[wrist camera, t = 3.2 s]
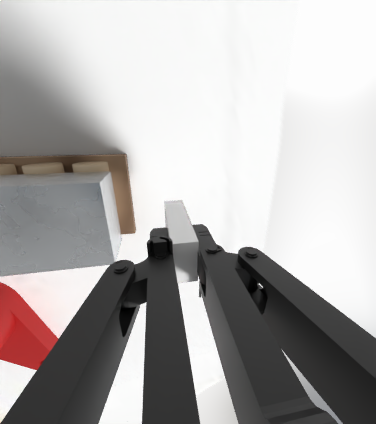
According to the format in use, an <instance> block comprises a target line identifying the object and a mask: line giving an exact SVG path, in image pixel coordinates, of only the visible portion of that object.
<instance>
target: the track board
mask: <svg viewBox="0 0 376 424" xmlns="http://www.w3.org/2000/svg"><path fill="white" fill-rule="evenodd" d="M88 161H105V162H108V167H109V171H111V176H112V182H113V188H114V194H115V200H116V206H117V213H118V219H119V225H120V231H121V234H131V233H135V231H136V227H135V219H134V211H133V203H132V195H131V187H130V179H129V171H128V164H127V156H126V154H110V155H65V156H20V157H0V164H14V165H15V168H16V171H17V173H18V175H19V174H24V173H23V170H22V166H24V165H28V164H35V163H49V162H59V163H62V164H63V168H64V172H65V173H74V172H73V167H72V164H75V163H79V162H88Z"/></svg>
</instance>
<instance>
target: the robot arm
mask: <svg viewBox="0 0 376 424" xmlns="http://www.w3.org/2000/svg"><path fill="white" fill-rule="evenodd" d="M164 202H165V221H166V228H155V229H153V230H152V231H151V232H150V240H148V242H147V249H148V258H147V259H146V260H145V261H143V262H141V263H138V264H135V265H134V263H133V262H131V261H128V260H120V261H117V262H114V263H113V264H111V265H110V266H109V267H108V268H107V269H106V271H105V272H104V274H103V275H102V277H101V278H100V280H99V281H98V283H97V284H96V285H95V287H94V288H93V290H92V291H91V293H90V294H89V296H88V297H87V299H86V300H85V301H84V303H83V304H82V306H81V307H80V309H79V310H78V312H77V313H76V315H75V316H74V317H73V319H72V320H71V322H70V323H69V325H68V326H67V328H66V329H65V331H64V332H63V333H62V335H61V336H60V338H59V339H58V341H57V342H56V344H55V345H54V346H53V348H52V349H51V351H50V352H49V354H48V355H47V357H46V358H45V360H44V361H43V362H42V364H41V365H40V367H39V368H38V370H37V371H36V373H35V374H34V376H33V377H32V378H31V380H30V381H29V383H28V384H27V386H26V387H25V389H24V390H23V392H22V393H21V394H20V396H19V397H18V399H17V400H16V402H15V403H14V405H13V406H12V407H11V409H10V410H9V412H8V413H7V415H6V416H5V418H4V419H3V421H2V422H1V423H0V424H98V423H99V420H100V417H101V415H102V412H103V409H104V406H105V403H106V401H107V398H108V395H109V392H110V389H111V387H112V384H113V381H114V378H115V375H116V372H117V370H118V367H119V364H120V361H121V358H122V356H123V353H124V350H125V347H126V344H127V342H128V339H129V336H130V333H131V330H132V328H133V325H134V322H135V319H136V316H137V314H138V311H139V308H140V304H143V303H145V302H147V305H146V332H145V359H144V386H143V413H142V424H200V420H199V415H198V408H197V401H196V395H195V389H194V383H193V376H192V370H191V364H190V357H189V351H188V345H187V339H186V332H185V326H184V320H183V314H182V307H181V301H180V295H179V289H178V283H183V282H191V281H198V276H199V279H200V283H199V297H201V294H202V298H203V301H204V305H205V308H206V312H207V315H208V319H209V322H210V326H211V329H212V333H213V336H214V340H215V343H216V347H217V350H218V354H219V357H220V360H221V364H222V367H223V371H224V374H225V378H226V381H227V385H228V388H229V392H230V395H231V399H232V402H233V406H234V409H235V412H236V416H237V420H238V423H239V424H338V423H337V422H336V420H335V419H334V418H332V416H331V415H330V414H329V413H328V412H326V411H324V410H322V409H320V408H318V407H316V406H315V405H314V403H313V402H312V401H311V400H310V398H309V397H308V395H307V393H306V392H305V390H304V388H303V386H302V384H301V383H300V381H299V379H298V377H297V376H296V374H295V372H294V370H293V369H292V367H291V366H290V364H289V362H288V360H287V358H286V357H285V355H284V353H283V352H282V350H283V351H284V352H285V354H286V355H287V356H288V357H289V359H290V360H291V361H292V362H293V363H294V365H295V366H296V367H297V368H298V370H299V371H300V372H301V373H302V374H303V376H304V377H305V378H306V379H307V380H308V382H309V383H310V384H311V385H312V386H313V388H314V389H315V390H316V391H317V393H318V394H319V395H320V396H321V397H322V399H323V400H324V401H325V402H326V403H327V405H328V406H329V407H330V408H331V409H332V411H333V412H334V413H335V414H336V415H337V417H338V418H339V419H340V420H341V422H343V424H376V338H374V337H373V336H372V335H371V334H369V333H368V332H366V331H365V330H364V329H363V328H361V327H360V326H359V325H357V324H356V323H355V322H353V321H352V320H351V319H349V318H348V317H347V316H345V315H344V314H343V313H342V312H340V311H339V310H338V309H336V308H335V307H334V306H332V305H331V304H330V303H328V302H327V301H326V300H324V299H323V298H322V297H320V296H319V295H317V294H316V293H315V292H314V291H312V290H311V289H310V288H309V287H307V286H306V285H304V284H303V283H302V282H301V281H299V280H298V279H297V278H295V277H294V276H293V275H291V274H290V273H289V272H287V271H286V270H285V269H284V268H282V267H281V266H279V265H278V264H277V263H276V262H274V261H273V260H271V259H270V258H269V257H268V256H266V255H265V254H264V253H262V252H261V251H260V250H258V249H255V248H252V247H243V248H241V249H240V250H239V252H238V254H234V253H227V252H225V251H224V249H223V248H222V247H221V246H219V245H217V244H216V243H215V242H214V240H213V238H212V236H211V234H210V232H209V230H208V229H207V227H206V226H204V225H203V224H200V225H192V224H191V221H190V219H189V216H188V214H187V211H186V209H185V206H184V204H183V201H182V200H180V201H164ZM259 283H260V284H261V285H262V286H263V288H262V287H261V286H260V285H259ZM281 349H282V350H281Z"/></svg>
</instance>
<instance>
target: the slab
mask: <svg viewBox="0 0 376 424" xmlns="http://www.w3.org/2000/svg"><path fill="white" fill-rule="evenodd" d="M121 241H122V237H121V231H120V225H119V219H118V213H117V206H116V200H115V194H114V188H113V182H112V176H111V171H104V172H76V173H47V174H19V175H0V276H9V275H18V274H28V273H37V272H46V271H55V270H65V269H74V268H83V267H92V266H102V265H111V264H113V263H114V262H116V259H117V255H118V252H119V248H120V244H121Z"/></svg>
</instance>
